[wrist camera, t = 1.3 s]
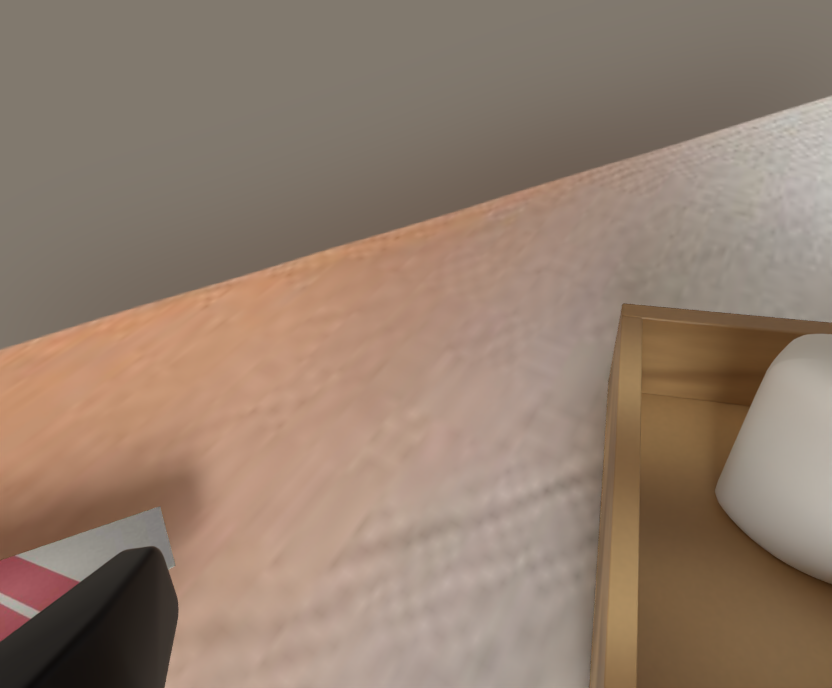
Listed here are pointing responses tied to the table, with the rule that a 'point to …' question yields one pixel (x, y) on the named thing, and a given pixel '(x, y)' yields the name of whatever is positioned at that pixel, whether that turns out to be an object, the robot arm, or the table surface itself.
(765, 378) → the eye dropper bottle
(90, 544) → the cricket bat
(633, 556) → the crate
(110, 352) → the table surface
